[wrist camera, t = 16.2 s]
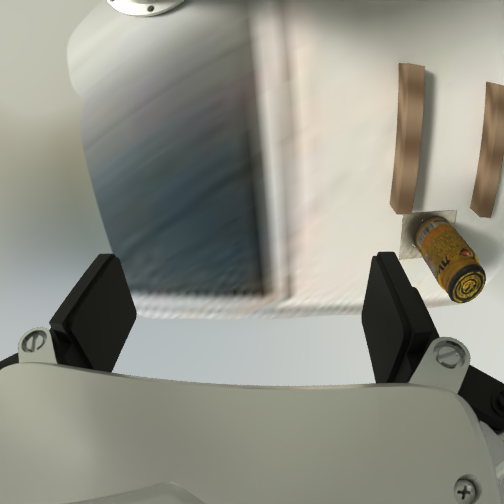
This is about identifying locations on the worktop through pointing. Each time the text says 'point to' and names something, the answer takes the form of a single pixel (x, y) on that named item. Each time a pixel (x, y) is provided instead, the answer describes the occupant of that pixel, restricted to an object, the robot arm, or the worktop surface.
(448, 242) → the yellow and black cylinder
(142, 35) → the worktop surface
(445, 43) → the worktop surface
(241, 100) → the worktop surface
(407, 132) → the channel
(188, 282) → the worktop surface
